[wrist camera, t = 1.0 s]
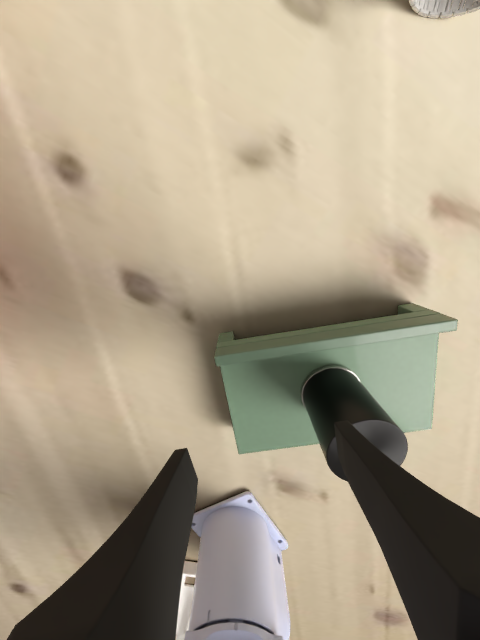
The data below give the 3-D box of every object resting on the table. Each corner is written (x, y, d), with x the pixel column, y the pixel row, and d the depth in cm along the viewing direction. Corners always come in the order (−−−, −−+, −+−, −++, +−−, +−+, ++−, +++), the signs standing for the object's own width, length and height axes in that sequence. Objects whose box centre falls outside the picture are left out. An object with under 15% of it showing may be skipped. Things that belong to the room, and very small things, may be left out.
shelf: (408, 406, 23) (446, 443, 19) (238, 429, 24) (238, 469, 20) (412, 302, 20) (458, 319, 16) (219, 333, 21) (213, 356, 17)
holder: (368, 400, 20) (420, 465, 14) (315, 424, 20) (343, 496, 15) (346, 353, 18) (393, 404, 13) (289, 380, 19) (310, 440, 13)
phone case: (144, 553, 30) (132, 626, 34) (140, 567, 28) (128, 641, 33) (206, 562, 30) (186, 633, 34) (204, 577, 29) (184, 649, 33)
